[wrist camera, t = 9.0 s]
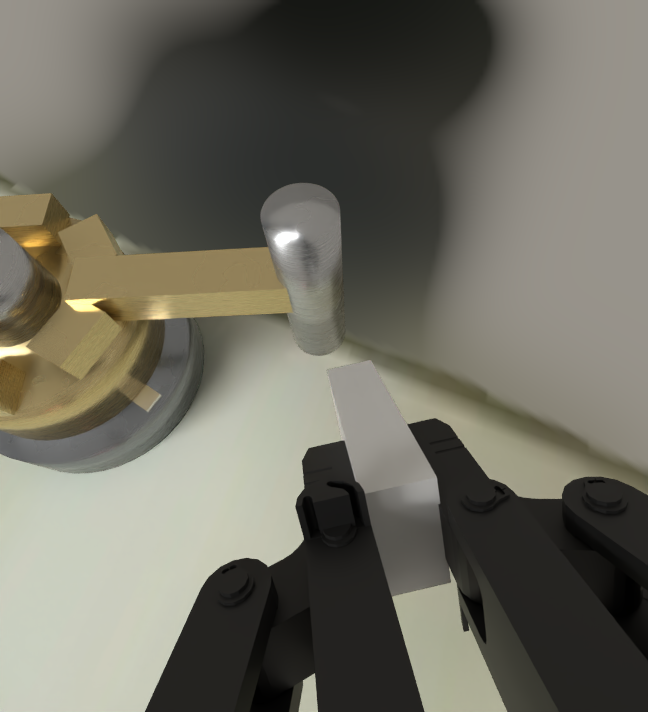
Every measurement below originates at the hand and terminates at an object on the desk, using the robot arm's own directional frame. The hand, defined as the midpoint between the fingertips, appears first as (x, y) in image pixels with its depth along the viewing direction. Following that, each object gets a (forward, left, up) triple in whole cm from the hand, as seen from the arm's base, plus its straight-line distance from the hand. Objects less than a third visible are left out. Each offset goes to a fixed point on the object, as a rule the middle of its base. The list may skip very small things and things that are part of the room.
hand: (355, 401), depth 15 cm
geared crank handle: (-11, -1, -6) cm, 13 cm away
